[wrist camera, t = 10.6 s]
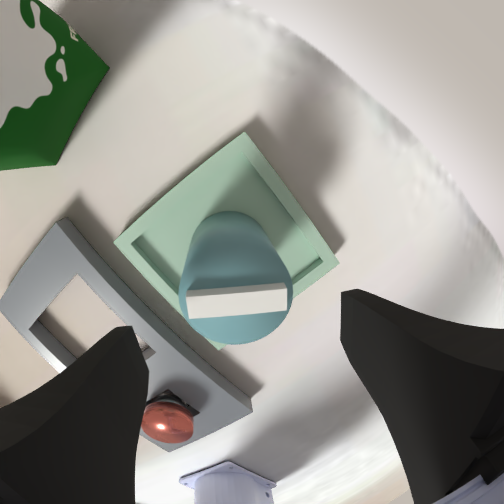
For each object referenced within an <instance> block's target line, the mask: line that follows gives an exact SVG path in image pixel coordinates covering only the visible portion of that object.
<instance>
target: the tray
mask: <svg viewBox="0 0 504 504" xmlns="http://www.w3.org/2000/svg"><path fill="white" fill-rule="evenodd" d="M223 211H237V212H241V213H244V214H246V215H248V216H250V217H252V218H253V219H255V220H256V221H257V222H258V223H259V224H260V225H261V227H262V228H263V230H264V231H265V233H266V235H267V236H268V238H269V240H270V241H271V243H272V245H273V246H274V248H275V250H276V251H277V253H278V254H279V256H280V258H281V259H282V261H283V263H284V264H285V266H286V268H287V270H288V272H289V274H290V277H291V279H292V284H293V298H294V297H296V296H297V295H299V294H300V293H301V292H303V291H304V290H305V289H307V288H308V287H309V286H311V285H312V284H313V283H315V282H316V281H317V280H319V279H320V278H321V277H323V276H324V275H325V274H326V273H328V272H329V271H330V270H332V269H333V268H334V267H336V266H337V265H338V264H339V261H338V260H337V258H336V257H335V255H334V254H333V252H332V251H331V249H330V248H329V246H328V245H327V243H326V242H325V241H324V239H323V238H322V236H321V235H320V233H319V232H318V230H317V229H316V227H315V226H314V224H313V223H312V222H311V220H310V219H309V217H308V216H307V214H306V213H305V212H304V210H303V209H302V207H301V206H300V205H299V203H298V202H297V200H296V199H295V198H294V196H293V195H292V193H291V192H290V191H289V189H288V188H287V187H286V185H285V184H284V182H283V181H282V180H281V178H280V177H279V176H278V174H277V173H276V172H275V170H274V169H273V168H272V166H271V165H270V164H269V162H268V161H267V160H266V158H265V157H264V156H263V154H262V153H261V152H260V151H259V149H258V148H257V147H256V145H255V144H254V143H253V141H252V140H251V139H250V138H249V136H248V135H247V134H246V133H245V132H243V133H242V134H241V135H239V136H238V137H236V138H235V139H234V140H232V141H231V142H230V143H228V144H227V145H226V146H225V147H223V148H222V149H221V150H219V151H218V152H217V153H215V154H214V155H213V156H212V157H210V158H209V159H208V160H207V161H205V162H204V163H203V164H202V165H200V166H199V167H198V168H197V169H195V170H194V171H193V172H192V173H190V174H189V175H188V176H187V177H186V178H184V179H183V180H182V181H181V182H180V183H178V184H177V185H176V186H175V187H174V188H172V189H171V190H170V191H169V192H168V193H167V194H165V195H164V196H163V197H162V198H161V199H160V200H159V201H157V202H156V203H155V204H154V205H153V206H152V207H151V208H149V209H148V210H147V211H146V212H145V213H144V214H143V215H142V216H141V217H140V218H138V219H137V220H136V221H135V222H134V223H133V224H132V225H131V226H130V227H129V228H128V229H127V230H126V231H124V232H123V233H122V234H121V235H120V236H119V237H118V238H117V239H116V240H115V241H114V242H113V243H114V244H115V245H116V246H117V248H118V249H119V250H120V251H121V252H122V253H123V254H124V255H125V257H126V258H127V259H128V260H129V261H130V262H131V263H132V264H133V265H134V267H135V268H136V269H137V270H138V271H139V272H140V273H141V274H142V275H143V276H144V277H145V278H146V279H147V281H148V282H149V283H150V284H151V285H152V286H153V287H154V288H155V289H156V290H157V291H158V292H159V293H160V294H161V295H162V296H163V297H164V298H165V299H166V300H167V301H168V302H169V303H170V304H171V305H172V306H173V307H174V308H175V309H176V310H177V311H178V312H179V313H180V314H181V315H182V316H183V317H184V315H183V313H182V311H181V308H180V304H179V296H178V293H179V285H180V280H181V277H182V273H183V269H184V265H185V261H186V257H187V253H188V250H189V246H190V242H191V239H192V236H193V233H194V232H195V230H196V228H197V227H198V226H199V224H200V223H201V222H202V221H203V220H205V219H206V218H207V217H209V216H211V215H213V214H215V213H219V212H223ZM184 318H185V317H184ZM203 337H204V336H203ZM204 338H206V337H204ZM206 339H207V340H208V341H209V342H210V343H211V344H212V345H213V346H214V347H215V348H216V349H217V350H218V351H219V350H220V349H222V348H223V347H225V346H226V345H228V344H223V343H219V342H215V341H212V340H210V339H208V338H206Z"/></svg>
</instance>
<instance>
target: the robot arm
mask: <svg viewBox="0 0 504 504" xmlns="http://www.w3.org/2000/svg"><path fill="white" fill-rule="evenodd" d="M340 341H341V343H342V346H343V348H344V350H345V353H346V355H347V357H348V359H349V361H350V363H351V365H352V367H353V368H354V370H355V371H356V373H357V375H358V376H359V378H360V379H361V381H362V383H363V384H364V386H365V387H366V389H367V390H368V392H369V394H370V395H371V397H372V398H373V400H374V402H375V403H376V405H377V406H378V408H379V410H380V412H381V414H382V416H383V418H384V420H385V422H386V424H387V427H388V429H389V431H390V433H391V436H392V438H393V440H394V443H395V445H396V448H397V451H398V453H399V456H400V458H401V461H402V464H403V467H404V470H405V473H406V476H407V479H408V482H409V486H410V490H411V493H412V497H413V500H414V504H504V329H495V328H484V327H477V326H470V325H464V324H459V323H455V322H451V321H446V320H442V319H439V318H435V317H432V316H429V315H426V314H423V313H420V312H417V311H414V310H411V309H409V308H406V307H403V306H401V305H398V304H396V303H393V302H391V301H389V300H386V299H384V298H381V297H379V296H376V295H374V294H371V293H369V292H366V291H363V290H360V289H354V290H349V291H344V292H341V334H340ZM148 385H149V369H148V366H147V364H146V361H145V359H144V356H143V354H142V351H141V349H140V346H139V343H138V341H137V338H136V335H135V333H134V330H133V327H132V326H123V327H116V328H114V329H113V330H111V331H110V332H109V333H107V334H106V335H105V336H104V337H103V338H101V339H100V340H99V341H98V342H97V343H96V344H94V345H93V346H92V347H91V348H90V349H89V350H87V351H86V352H85V353H84V354H83V355H82V356H81V357H79V358H78V359H77V360H76V361H74V362H73V363H72V364H71V365H69V366H68V367H67V368H66V369H64V370H63V371H62V372H61V373H60V374H58V375H57V376H56V377H54V378H53V379H51V380H50V381H49V382H47V383H45V384H44V385H42V386H41V387H39V388H38V389H36V390H35V391H33V392H31V393H29V394H28V395H26V396H24V397H22V398H20V399H18V400H16V401H15V402H13V403H11V404H9V405H6V406H4V407H2V408H0V504H135V460H136V450H137V444H138V439H139V434H140V429H141V424H142V419H143V415H144V410H145V405H146V401H147V396H148ZM179 483H181V484H183V485H185V486H187V487H189V488H192V489H194V498H195V504H274V501H273V496H272V491H271V489H272V488H274V487H276V486H277V485H276V483H274V482H272V481H270V480H268V479H265V478H263V477H261V476H259V475H256V474H254V473H252V472H250V471H248V470H246V469H244V468H242V467H240V466H238V465H236V464H234V463H232V462H224V463H222V464H219V465H217V466H214V467H211V468H209V469H206V470H204V471H201V472H198V473H195V474H193V475H190V476H187V477H184V478H181V479H179Z"/></svg>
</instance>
